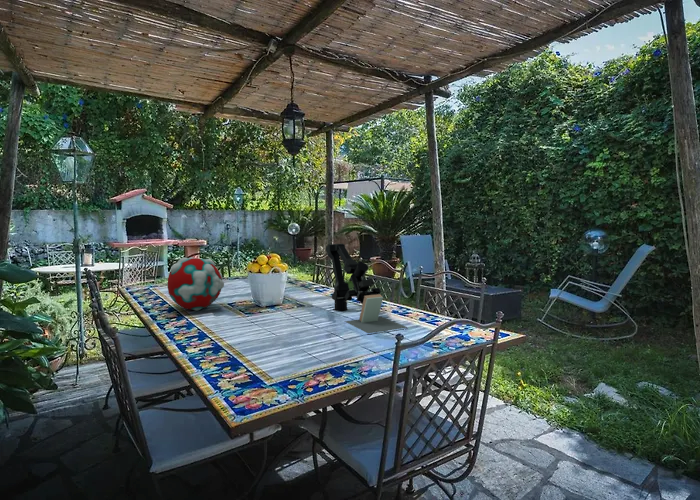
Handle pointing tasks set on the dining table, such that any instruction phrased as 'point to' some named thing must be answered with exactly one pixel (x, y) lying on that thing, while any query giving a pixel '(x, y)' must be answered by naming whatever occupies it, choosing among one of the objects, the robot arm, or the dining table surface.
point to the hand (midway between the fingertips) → (368, 307)
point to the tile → (371, 308)
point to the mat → (376, 325)
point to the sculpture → (194, 283)
